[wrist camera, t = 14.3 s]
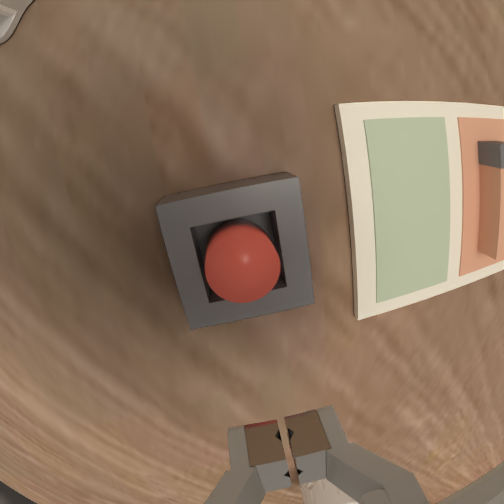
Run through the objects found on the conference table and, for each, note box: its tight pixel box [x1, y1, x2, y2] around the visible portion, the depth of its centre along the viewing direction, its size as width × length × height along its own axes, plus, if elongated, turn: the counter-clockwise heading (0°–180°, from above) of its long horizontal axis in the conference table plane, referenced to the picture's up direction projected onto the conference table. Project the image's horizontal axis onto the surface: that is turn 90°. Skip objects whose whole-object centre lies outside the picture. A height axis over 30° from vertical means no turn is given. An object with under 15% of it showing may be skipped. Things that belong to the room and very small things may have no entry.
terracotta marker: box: [477, 141, 504, 260], centre depth 25 cm, size 4×12×3 cm, turn 10°
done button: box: [205, 220, 281, 303], centre depth 23 cm, size 5×5×4 cm
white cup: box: [300, 478, 359, 504], centre depth 35 cm, size 8×8×10 cm
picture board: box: [334, 101, 504, 320], centre depth 27 cm, size 24×20×1 cm
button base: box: [155, 172, 314, 330], centre depth 25 cm, size 10×10×4 cm
